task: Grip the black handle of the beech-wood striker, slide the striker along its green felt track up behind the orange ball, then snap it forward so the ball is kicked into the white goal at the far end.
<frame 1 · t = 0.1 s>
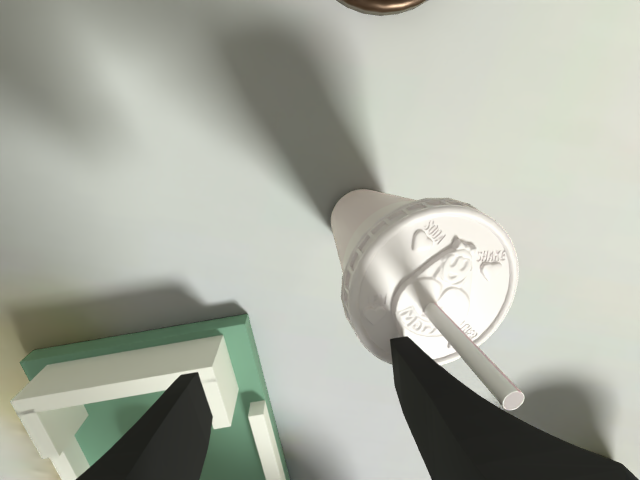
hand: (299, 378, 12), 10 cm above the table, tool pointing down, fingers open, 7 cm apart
pitch: (180, 436, 26), on the table
smoothie: (360, 218, 21), on the table, touching gripper
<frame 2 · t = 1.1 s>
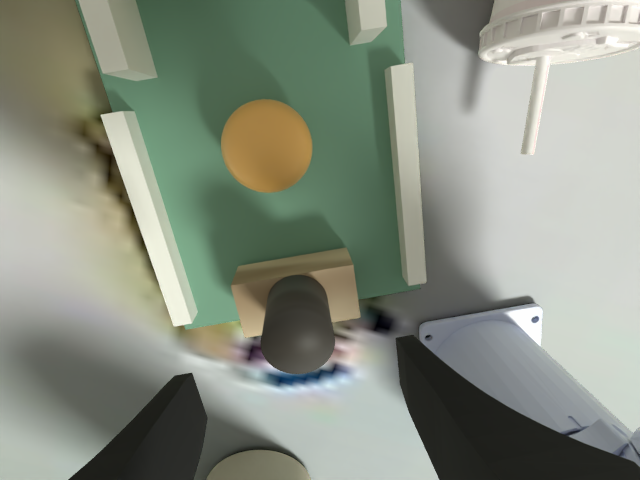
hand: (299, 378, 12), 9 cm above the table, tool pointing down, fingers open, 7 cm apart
striker: (297, 307, 17), point 4 cm above the table, slide at 0.0 cm
pitch: (273, 152, 19), on the table
ball: (267, 147, 16), point 3 cm above the table, touching pitch
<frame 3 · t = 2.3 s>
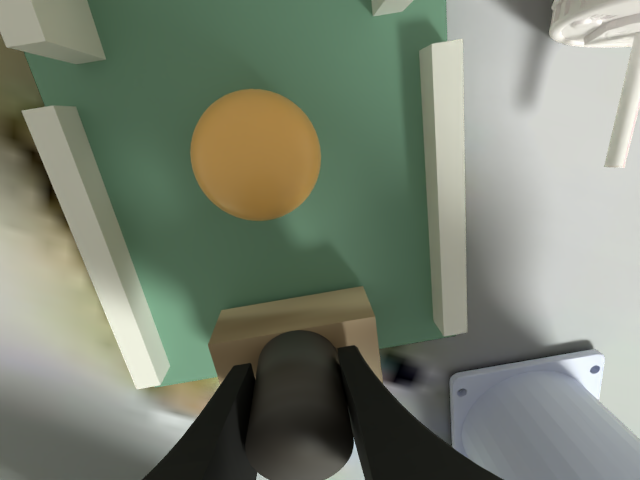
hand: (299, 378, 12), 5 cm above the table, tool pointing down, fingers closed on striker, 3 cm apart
striker: (299, 374, 12), point 4 cm above the table, slide at 0.0 cm, touching gripper
pitch: (268, 161, 14), on the table
ball: (257, 157, 11), point 3 cm above the table, touching pitch
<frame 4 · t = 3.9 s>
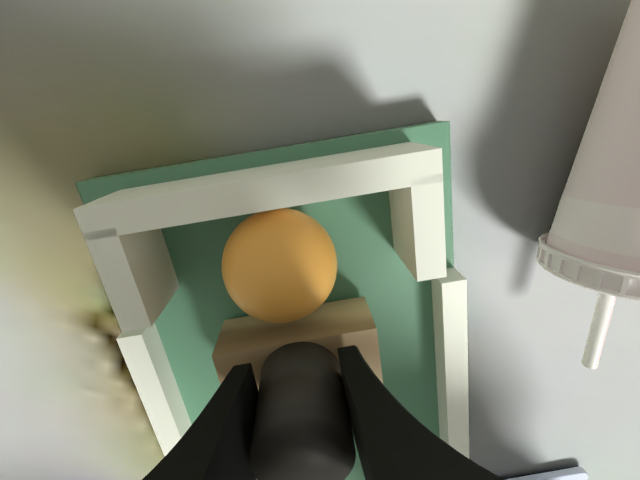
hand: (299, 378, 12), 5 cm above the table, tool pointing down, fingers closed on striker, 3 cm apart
striker: (301, 385, 13), point 4 cm above the table, slide at 8.0 cm, touching gripper
pitch: (303, 337, 17), on the table
ball: (280, 264, 12), point 3 cm above the table, tilted 132°, touching pitch
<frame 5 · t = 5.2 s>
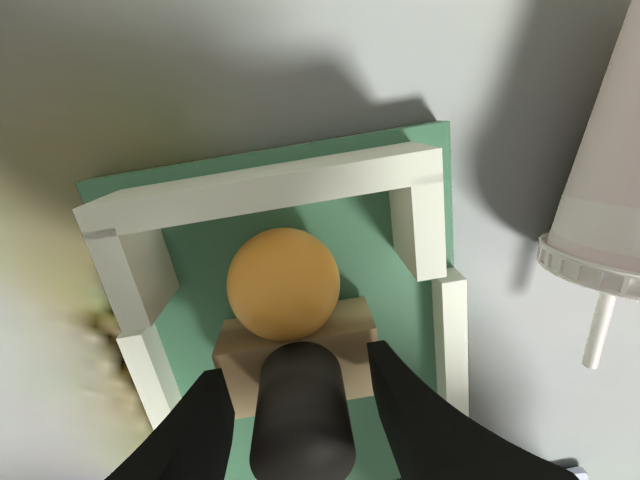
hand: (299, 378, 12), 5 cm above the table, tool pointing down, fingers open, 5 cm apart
striker: (301, 385, 13), point 4 cm above the table, slide at 8.0 cm
pitch: (303, 337, 17), on the table
ball: (284, 283, 13), point 3 cm above the table, tilted 111°, touching pitch
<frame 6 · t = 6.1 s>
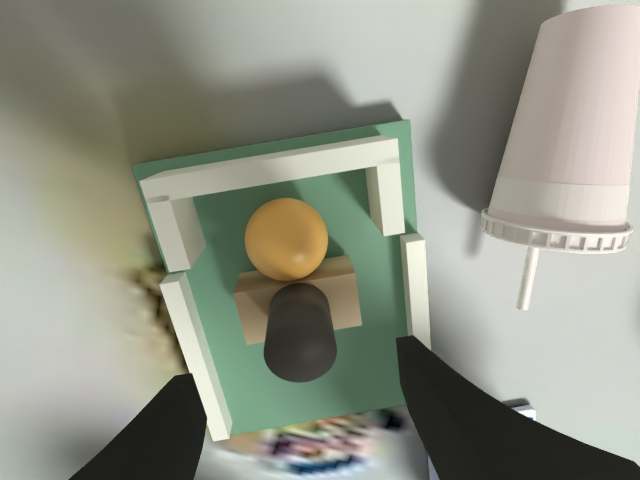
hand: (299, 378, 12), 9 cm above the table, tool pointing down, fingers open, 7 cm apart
striker: (299, 315, 17), point 4 cm above the table, slide at 8.0 cm
pitch: (301, 291, 22), on the table
smoothie: (591, 15, 15), point 3 cm above the table
ball: (286, 239, 17), point 3 cm above the table, tilted 112°, touching pitch
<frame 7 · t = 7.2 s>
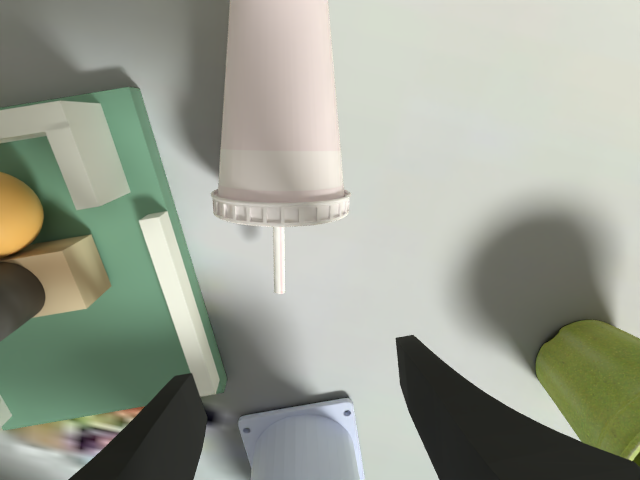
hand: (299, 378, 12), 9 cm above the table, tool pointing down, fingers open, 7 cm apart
striker: (2, 296, 16), point 4 cm above the table, slide at 8.0 cm
pitch: (69, 275, 20), on the table
plant pot: (573, 353, 25), on the table
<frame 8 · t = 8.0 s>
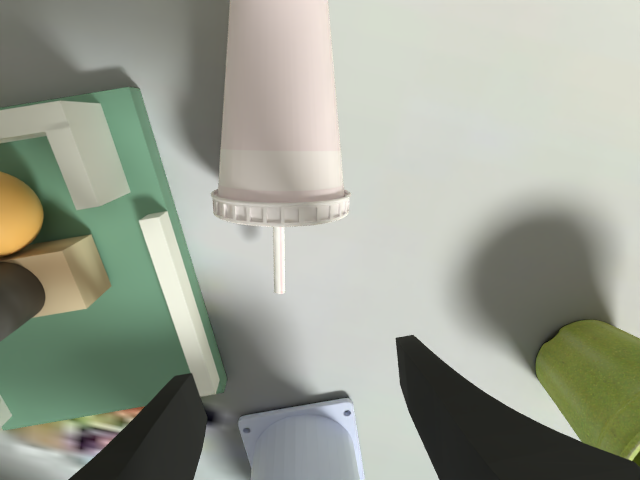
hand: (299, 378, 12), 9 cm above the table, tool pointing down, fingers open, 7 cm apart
striker: (2, 296, 16), point 4 cm above the table, slide at 8.0 cm
pitch: (69, 275, 20), on the table
plant pot: (573, 353, 25), on the table
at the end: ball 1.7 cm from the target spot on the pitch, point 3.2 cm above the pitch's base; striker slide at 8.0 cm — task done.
